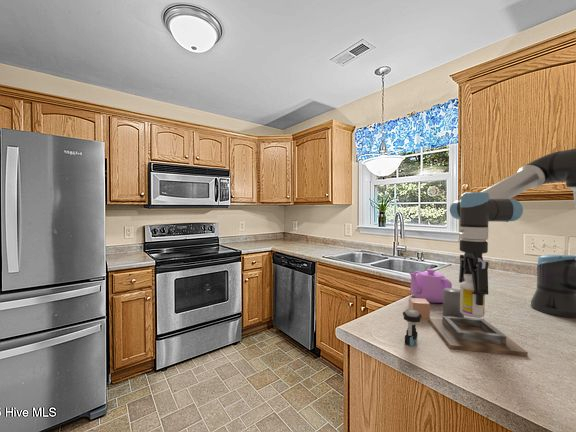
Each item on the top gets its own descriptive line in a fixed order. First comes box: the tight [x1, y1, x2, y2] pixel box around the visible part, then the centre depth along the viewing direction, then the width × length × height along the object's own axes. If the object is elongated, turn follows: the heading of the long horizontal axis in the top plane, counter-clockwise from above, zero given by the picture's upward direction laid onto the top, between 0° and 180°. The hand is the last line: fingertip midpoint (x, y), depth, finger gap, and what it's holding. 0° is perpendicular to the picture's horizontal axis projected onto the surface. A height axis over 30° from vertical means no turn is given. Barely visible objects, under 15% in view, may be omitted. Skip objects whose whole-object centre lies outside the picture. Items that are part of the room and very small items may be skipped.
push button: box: [402, 308, 422, 347], centre depth 83 cm, size 7×5×10 cm
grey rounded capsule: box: [442, 288, 465, 317], centre depth 103 cm, size 7×7×10 cm
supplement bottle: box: [459, 274, 486, 319], centre depth 87 cm, size 7×7×13 cm
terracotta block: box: [408, 297, 431, 320], centre depth 104 cm, size 6×6×6 cm
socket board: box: [428, 315, 529, 357], centre depth 87 cm, size 20×20×4 cm
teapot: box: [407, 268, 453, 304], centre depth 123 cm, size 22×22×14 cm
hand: (471, 309), depth 87 cm, fingers closed on supplement bottle, 7 cm apart
